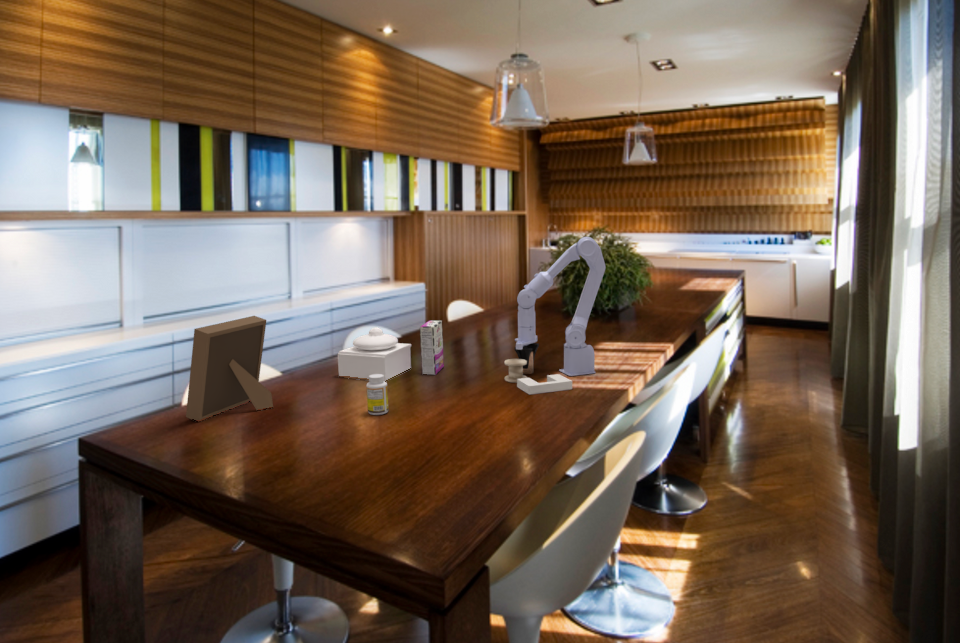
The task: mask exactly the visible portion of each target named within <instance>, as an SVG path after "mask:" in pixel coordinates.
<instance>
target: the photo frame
mask: <svg viewBox="0 0 960 643" xmlns="http://www.w3.org/2000/svg"><path fill="white" fill-rule="evenodd" d="M266 325H267V319H265V318H263V317H259V316H256V315H252V316H246V317H243V318H241V317H240V318H238V319H233V320H227V321H225V322H220V323H215V324H210V325H206V326H200V327H197V328H194V329H193V330H194V331H193V338H192V340H193V342H192V343H193V344H192V352H191V362H190V371H189V381H188V382H189V383H188V393H187V401H186V402H187V403H186V412H185V418H187V419H190V420H192V419H194V420H201V419H203V418H206V417H209V416H211V415H214V414H217V413H219V412H222V411H225V410H228V409H230V408H233V407H235V406H238V405H240V404H242V403H245V402H247V401H249V400H251V402H250V403H251V404H252V405H253V407H254V408H255V410H256V411H257V410H258V409H263V408H269V407H273V408H274V403H273V397H272V396H273V394H272V392H271V391H270V390H269V389H267V387H265V386H264V384H262V383H261V382H260V375H261V368H262V367H261V366H262V358H263V350H264V342H265V335H266V334H265V333H266V327H267V326H266ZM194 420H193V421H194Z"/></svg>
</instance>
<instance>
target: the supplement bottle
mask: <svg viewBox="0 0 960 643" xmlns="http://www.w3.org/2000/svg"><path fill="white" fill-rule="evenodd" d="M365 386H366V402H367V412H368V414H370V415H371V416H381V415H384V414H387V413H388V412H389V409H390V408H389V396H388V395H389V394H388V390H389V389H388V383H387V381H386V382H385V381H384V375H382V374H373V375H370V376H369V380H368V382H367V383H366V385H365Z"/></svg>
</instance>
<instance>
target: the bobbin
mask: <svg viewBox="0 0 960 643" xmlns="http://www.w3.org/2000/svg"><path fill="white" fill-rule="evenodd" d="M526 364H527V361H526V360H524V359H519V358H510V359H509V358H508V359H505V360H504V365H505V366H508V375H506V376H504V381H505V382H507V383H513V384H514V383H515V384H517V379H521V378H528V376H527V375H526V374H523V365H526Z"/></svg>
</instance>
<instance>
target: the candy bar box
mask: <svg viewBox="0 0 960 643" xmlns="http://www.w3.org/2000/svg"><path fill="white" fill-rule="evenodd" d="M419 335H420V337H419V339H420V355H421V356H420V357H421V374H422V375H423V374H427V375H426V376H436V375H437V374H438V373H440V371H441V370H442V369H444V367H445V362H444V339H443V320H428V321H427V322H425V323H423V324H422V325H420V326H419Z"/></svg>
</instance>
